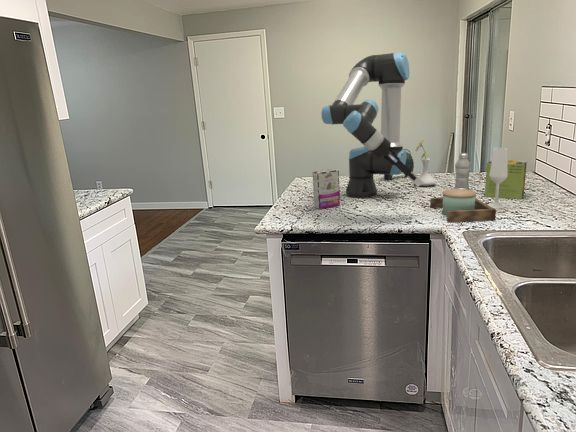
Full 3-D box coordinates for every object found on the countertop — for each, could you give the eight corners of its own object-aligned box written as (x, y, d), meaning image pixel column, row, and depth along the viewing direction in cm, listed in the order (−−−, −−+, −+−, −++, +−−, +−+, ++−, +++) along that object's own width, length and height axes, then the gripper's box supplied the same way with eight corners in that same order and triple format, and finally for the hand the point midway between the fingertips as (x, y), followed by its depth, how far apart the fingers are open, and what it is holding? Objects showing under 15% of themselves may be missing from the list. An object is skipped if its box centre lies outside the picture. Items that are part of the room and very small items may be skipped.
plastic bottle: (470, 198, 197) (473, 154, 192) (454, 198, 199) (456, 154, 194) (467, 195, 204) (470, 152, 198) (452, 195, 205) (454, 152, 200)
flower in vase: (420, 182, 238) (421, 135, 232) (440, 184, 230) (442, 136, 224) (407, 186, 229) (408, 138, 223) (427, 188, 221) (429, 138, 215)
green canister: (437, 215, 175) (438, 193, 172) (448, 208, 184) (449, 188, 181) (468, 219, 167) (470, 197, 165) (478, 212, 176) (480, 190, 174)
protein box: (522, 199, 192) (525, 164, 188) (484, 196, 200) (486, 162, 196) (524, 194, 201) (527, 160, 197) (487, 192, 209) (490, 159, 205)
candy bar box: (334, 203, 201) (333, 168, 197) (340, 205, 197) (339, 169, 193) (313, 207, 196) (311, 171, 192) (319, 209, 192) (317, 172, 188)
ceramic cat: (386, 181, 245) (386, 145, 240) (379, 179, 251) (379, 144, 245) (415, 177, 252) (416, 142, 247) (407, 175, 258) (408, 141, 253)
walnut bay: (448, 222, 165) (448, 211, 164) (430, 207, 187) (430, 198, 186) (495, 220, 164) (496, 209, 163) (471, 205, 186) (472, 196, 185)
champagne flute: (483, 205, 185) (487, 148, 178) (495, 203, 187) (499, 147, 181) (496, 209, 179) (501, 150, 172) (508, 206, 181) (513, 148, 175)
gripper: (367, 149, 175) (409, 187, 179) (373, 154, 163) (417, 195, 167) (381, 134, 173) (422, 173, 178) (387, 138, 161) (432, 180, 165)
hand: (420, 184), depth 172 cm, fingers closed
